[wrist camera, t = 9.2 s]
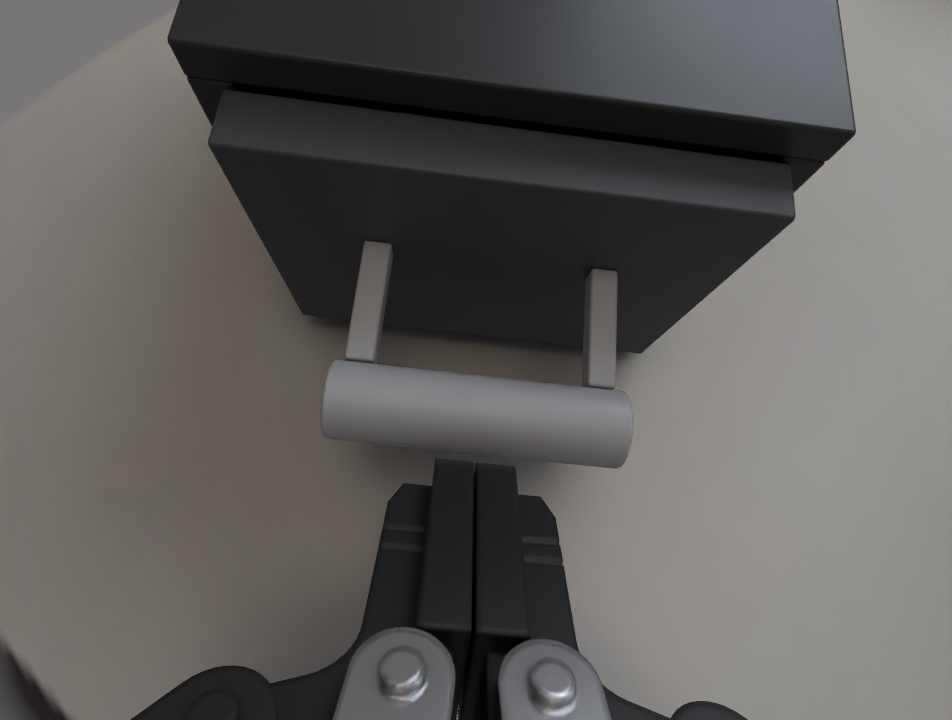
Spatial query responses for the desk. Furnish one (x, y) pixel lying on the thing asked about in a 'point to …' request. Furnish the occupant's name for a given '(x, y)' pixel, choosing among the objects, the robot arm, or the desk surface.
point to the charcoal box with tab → (549, 64)
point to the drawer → (488, 256)
